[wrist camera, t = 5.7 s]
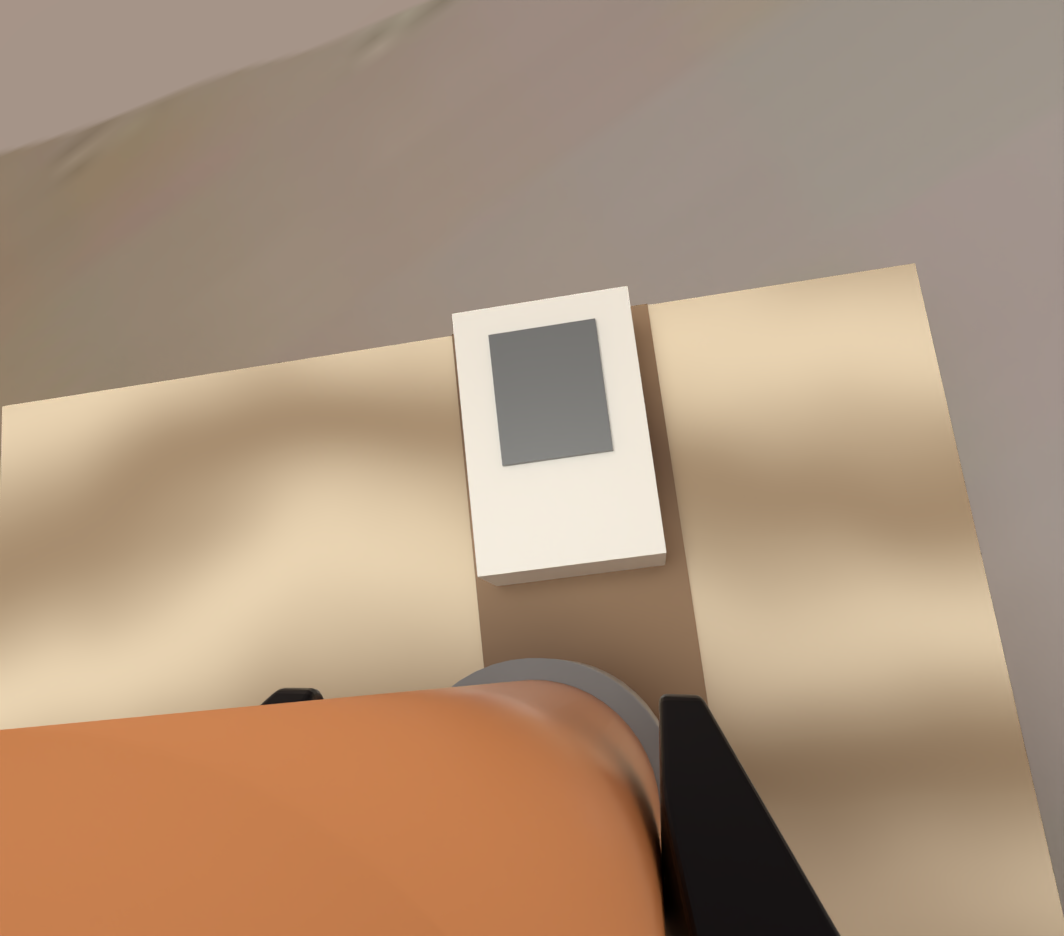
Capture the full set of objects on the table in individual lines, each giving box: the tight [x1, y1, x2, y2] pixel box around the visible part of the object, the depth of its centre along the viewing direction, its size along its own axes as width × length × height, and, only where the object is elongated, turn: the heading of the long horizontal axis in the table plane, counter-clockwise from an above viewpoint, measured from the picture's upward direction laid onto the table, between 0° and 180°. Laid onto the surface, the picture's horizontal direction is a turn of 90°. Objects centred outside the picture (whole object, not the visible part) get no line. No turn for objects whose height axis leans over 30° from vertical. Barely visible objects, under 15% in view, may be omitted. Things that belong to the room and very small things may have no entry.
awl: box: [0, 658, 665, 936], centre depth 8 cm, size 4×4×13 cm
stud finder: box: [452, 286, 666, 586], centre depth 20 cm, size 6×4×2 cm, turn 7°
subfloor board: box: [0, 263, 1064, 936], centre depth 21 cm, size 21×24×2 cm
